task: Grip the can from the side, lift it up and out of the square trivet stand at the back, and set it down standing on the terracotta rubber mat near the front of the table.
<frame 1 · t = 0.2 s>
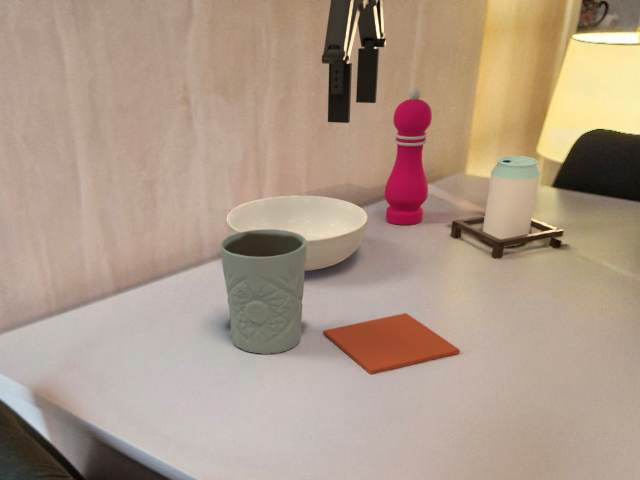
hand: (353, 112, 102), 21 cm above the table, tool pointing down, fingers open, 13 cm apart
mat: (389, 343, 93), on the table
serving bowl: (296, 262, 116), on the table
square trivet stand: (504, 241, 121), on the table
can: (503, 242, 121), on the table
grey ceramic cup: (265, 339, 95), on the table
pepper mill: (403, 220, 131), on the table
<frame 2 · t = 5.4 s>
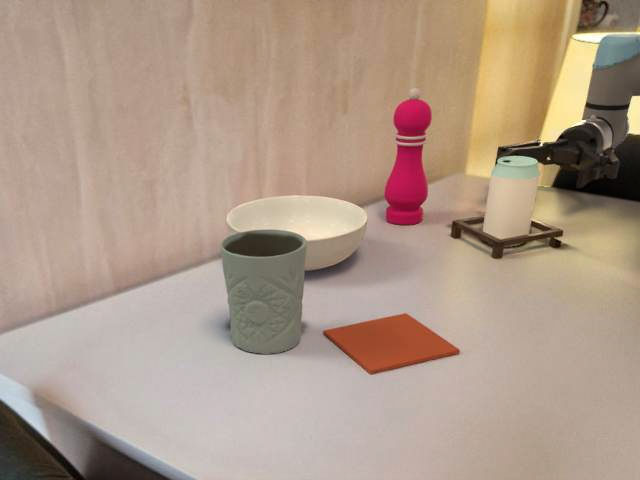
hand: (537, 172, 122), 8 cm above the table, tool horizontal, fingers open, 13 cm apart
nothing on the table moved.
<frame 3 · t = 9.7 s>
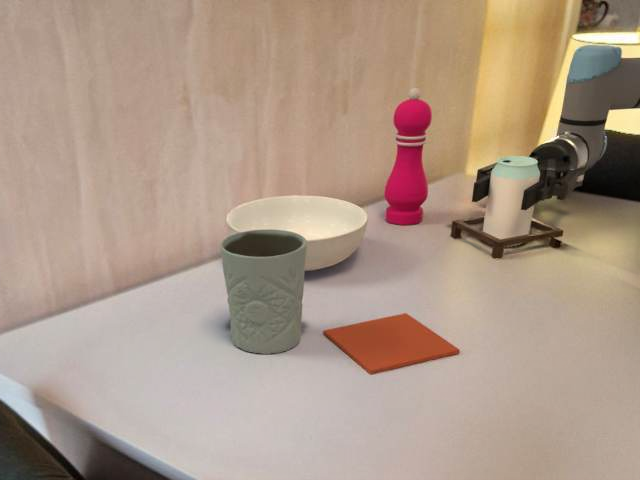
hand: (499, 196, 113), 8 cm above the table, tool horizontal, fingers closed on can, 7 cm apart
can: (503, 242, 121), on the table, touching gripper
everything else where it was.
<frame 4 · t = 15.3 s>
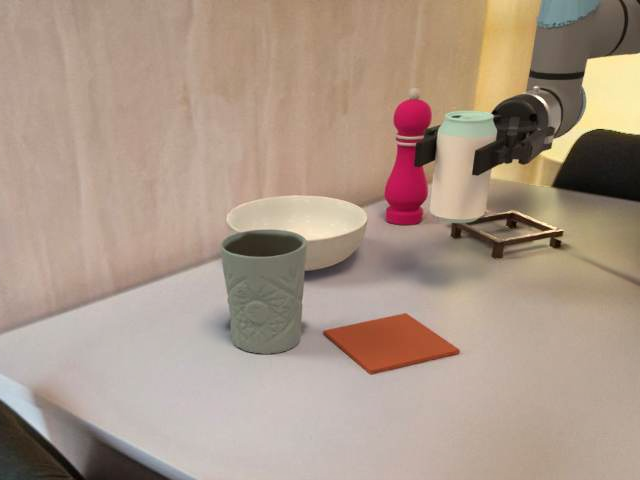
hand: (446, 159, 92), 18 cm above the table, tool horizontal, fingers closed on can, 7 cm apart
can: (456, 218, 100), point 10 cm above the table, touching gripper
everything else where it was.
when the fingers open (8 cm above the table, at t = 21.0 s): can stays where it is, resting on mat.
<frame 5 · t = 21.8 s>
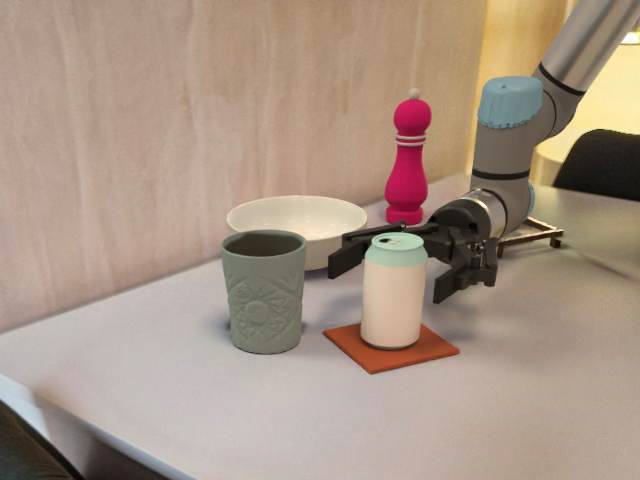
hand: (381, 279, 85), 9 cm above the table, tool horizontal, fingers open, 13 cm apart
can: (389, 341, 93), resting on mat
everything else where it was.
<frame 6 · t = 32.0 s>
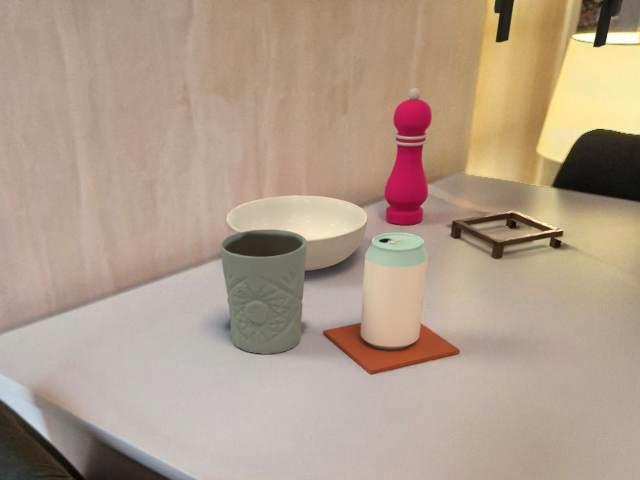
hand: (548, 43, 105), 27 cm above the table, tool pointing down, fingers open, 13 cm apart
nothing on the table moved.
at the end: can inside the target area on the mat (0.0 cm from its centre), point 0.3 cm above the mat's base; can tilted 0°; the gripper is holding nothing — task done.
